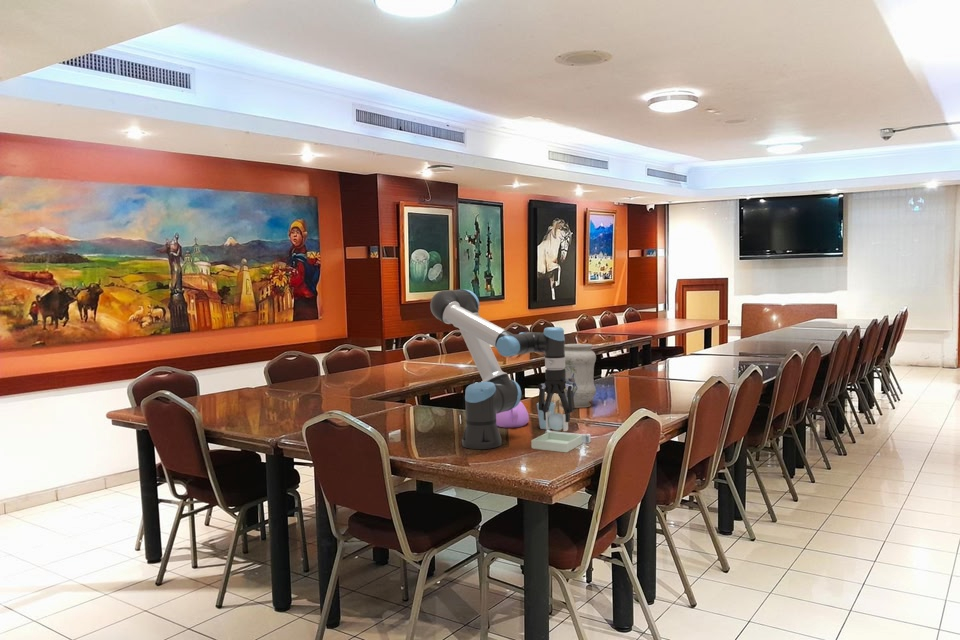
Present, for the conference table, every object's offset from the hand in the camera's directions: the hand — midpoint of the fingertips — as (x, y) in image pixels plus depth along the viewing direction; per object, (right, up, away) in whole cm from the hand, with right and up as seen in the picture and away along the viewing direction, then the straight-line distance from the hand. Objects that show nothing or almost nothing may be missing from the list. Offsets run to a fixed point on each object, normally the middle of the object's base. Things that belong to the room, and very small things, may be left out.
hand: (557, 429), depth 259 cm
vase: (+19, -1, +78) cm, 80 cm away
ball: (0, 0, 0) cm, 0 cm away
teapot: (-15, -4, +40) cm, 43 cm away
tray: (0, -6, +1) cm, 6 cm away
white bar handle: (+5, -6, +8) cm, 11 cm away
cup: (-1, -4, +32) cm, 32 cm away
